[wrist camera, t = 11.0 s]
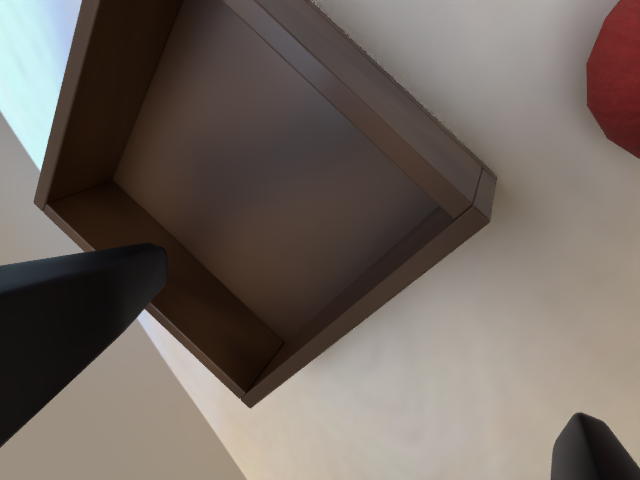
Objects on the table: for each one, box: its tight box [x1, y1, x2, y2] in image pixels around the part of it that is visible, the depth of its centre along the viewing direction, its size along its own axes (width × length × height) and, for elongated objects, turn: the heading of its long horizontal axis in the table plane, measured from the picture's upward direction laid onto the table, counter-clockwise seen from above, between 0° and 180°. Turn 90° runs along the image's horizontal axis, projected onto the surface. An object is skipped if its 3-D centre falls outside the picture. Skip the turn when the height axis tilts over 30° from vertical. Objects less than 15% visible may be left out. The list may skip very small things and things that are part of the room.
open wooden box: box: [34, 0, 497, 408], centre depth 20 cm, size 17×17×5 cm
